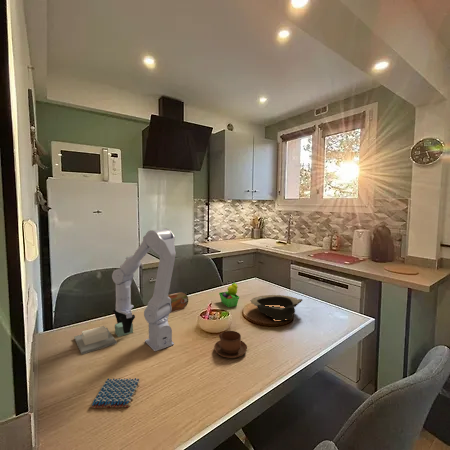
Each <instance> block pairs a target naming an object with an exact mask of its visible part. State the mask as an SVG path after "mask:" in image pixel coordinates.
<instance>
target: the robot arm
mask: <svg viewBox="0 0 450 450" xmlns="http://www.w3.org/2000/svg"><path fill="white" fill-rule="evenodd" d="M175 240H176V236H175V234H174V233H173V232H172V230H171V229H170V228H163V229H156V230H154V229H152V230H150V229H149V230H148V231H147V232H146V233H145V235H143V236H142V241H141V243H140V245H139V246H138V248H137V249H136V250H135V252H133V254H131V255H129V256H126V257H125V261H124V262H123V263H122V264H121V265H120V267H119V268H118V269H114V270H113V272H112V273H111V278H112V281H113V283H114V284H115V309H113V310H112V312H113V313H114V316H115V319H116V324H118V323H122V325H123V331H124V333H129V332H130V329H131V325H132V323H133V322H134V320H135V318H136V315H135V314H133V312H132V309H133V308H134V305H133V304H132V301H131V298H132V297H131V295H132V294H131V292H132V291H131V285H132V281H133V279H134V276H135V272H136V271H137V270H138V268H139V267H141V265H142V262H141V261H142V259H143V258H145V256H146V255H147V254H148V253H149V252H150V251H151V250H152V251H153V252H154V253H155V254H156V255H158V256H159V262H158V267H157V272H156V277H155V283H154V288H153V295H152V297H151V298H150V300H149V301H148V302H147V306H146V308H145V309H144V311H143V317H144V319H145V321H146V322H147V323H148V338H146V339H145V340H144V342H145V343H146V344H147V346H149V347H150V349H152V350H153V351H154V352H157V351H160V350H163V349H165V348H168V347H171V346H173V345H175V343H174V341H173V331H172V327H171V326H170V324H169V320H168V319H169V317H170V316H169V315H170V314H171V313H172V312H171V310H172V307H171V299H170V298H169V297H168V295H169V293H170V287H171V281H172V276H173V271H174V267H175V260H176V255H177V253H176V247H175V245H176V244H175Z"/></svg>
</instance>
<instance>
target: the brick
mask: <svg viewBox="0 0 450 450" xmlns="http://www.w3.org/2000/svg"><path fill="white" fill-rule="evenodd" d="M133 331H134V325H133V322H132V325H131V329H130V332H129V333H124V331H123V325H122V323H118V324H117V323H115V324H114V334H115V335H116V337H117V338H119V337H123V336H126V335H129V334H133V333H134V332H133Z"/></svg>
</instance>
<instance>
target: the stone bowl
mask: <svg viewBox="0 0 450 450" xmlns="http://www.w3.org/2000/svg"><path fill="white" fill-rule="evenodd" d="M302 302H303V299H302V298H299V299H298V298H297V297H293V296H290V295H283V294H269V295H259V296H255V297H252V298H251V300H250V303H251V304H253V305H254V306H255V307H257V310H258V311H259V312H260V313H263V314H265V315H266V316H268V317H271V319H272V318H273V319H275V320H285V319H290V318H291V319H293V316H294V315H295V312H296V309H295V308H296V307H297V306H298V305H299V304H300V303H302ZM265 305H280V306H284V307H285V308H280V307H274V306H272V307H269V306H265ZM291 319H290V320H291Z"/></svg>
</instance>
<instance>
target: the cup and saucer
mask: <svg viewBox="0 0 450 450" xmlns="http://www.w3.org/2000/svg"><path fill="white" fill-rule="evenodd" d="M218 335H219V336H218V337H219V339H220V340H219V341H217V342H215V344H214V345H213V346H214V347H213V348H214V351H215V352H216V354H218V355H219V356H220V357H223V358H228V359H236V358H239V357H242V356H243V355H245V354H246V352H247V349H248V346H247V344H246V343H245V342H244V341H243V340H242V336H241V333H239V332H238V331H235V330H227V331H226V330H225V331H223V332H220V333H219V334H218Z"/></svg>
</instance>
